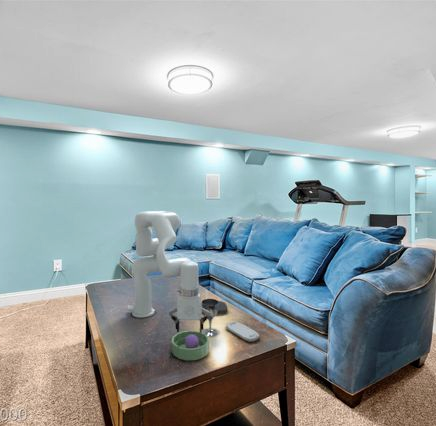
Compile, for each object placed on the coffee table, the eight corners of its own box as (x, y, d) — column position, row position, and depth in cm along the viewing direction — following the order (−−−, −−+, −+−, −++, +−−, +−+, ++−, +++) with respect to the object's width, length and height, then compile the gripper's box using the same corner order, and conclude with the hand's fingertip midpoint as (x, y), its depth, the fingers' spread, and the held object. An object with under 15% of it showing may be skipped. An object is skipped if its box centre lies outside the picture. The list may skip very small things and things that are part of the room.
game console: (223, 323, 134) (235, 319, 138) (223, 328, 134) (235, 324, 138) (249, 339, 118) (262, 334, 123) (249, 344, 118) (262, 339, 123)
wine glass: (213, 338, 124) (213, 306, 124) (199, 333, 128) (198, 302, 128) (221, 331, 131) (221, 300, 130) (207, 327, 135) (206, 297, 135)
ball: (183, 351, 111) (186, 336, 111) (183, 344, 117) (186, 331, 117) (197, 354, 111) (200, 339, 111) (197, 347, 117) (200, 333, 117)
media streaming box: (228, 314, 150) (228, 309, 150) (202, 315, 149) (202, 310, 149) (223, 304, 164) (223, 299, 164) (199, 305, 163) (199, 300, 163)
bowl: (170, 361, 106) (169, 349, 106) (173, 341, 122) (173, 330, 122) (209, 362, 106) (209, 349, 106) (208, 341, 122) (208, 330, 121)
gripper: (167, 294, 110) (168, 335, 111) (210, 295, 109) (210, 336, 110) (169, 288, 117) (170, 326, 118) (209, 288, 116) (209, 327, 118)
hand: (189, 331), depth 114 cm, fingers open, 9 cm apart
